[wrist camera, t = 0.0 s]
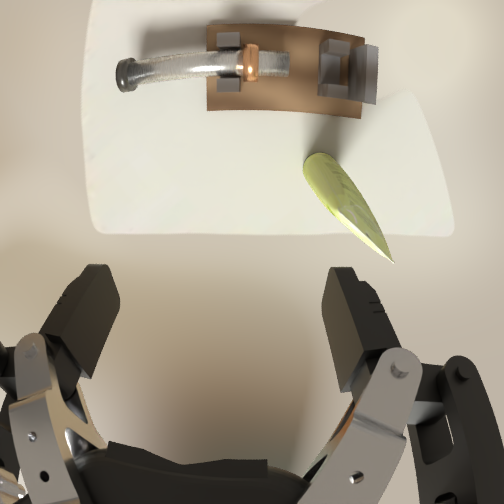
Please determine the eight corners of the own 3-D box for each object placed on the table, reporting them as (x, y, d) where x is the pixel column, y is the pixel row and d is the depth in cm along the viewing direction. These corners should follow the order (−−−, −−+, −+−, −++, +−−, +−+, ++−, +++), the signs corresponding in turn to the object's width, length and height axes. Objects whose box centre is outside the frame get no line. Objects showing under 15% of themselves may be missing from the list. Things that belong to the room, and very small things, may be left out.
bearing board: (208, 27, 25) (198, 13, 19) (361, 39, 25) (384, 31, 19) (208, 110, 32) (198, 114, 26) (357, 118, 32) (379, 125, 26)
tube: (297, 185, 38) (334, 269, 21) (297, 151, 35) (340, 212, 19) (335, 185, 38) (394, 264, 21) (337, 151, 35) (406, 211, 18)
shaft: (131, 59, 25) (114, 56, 21) (285, 48, 25) (291, 41, 21) (131, 93, 28) (115, 94, 24) (284, 83, 28) (290, 82, 24)
